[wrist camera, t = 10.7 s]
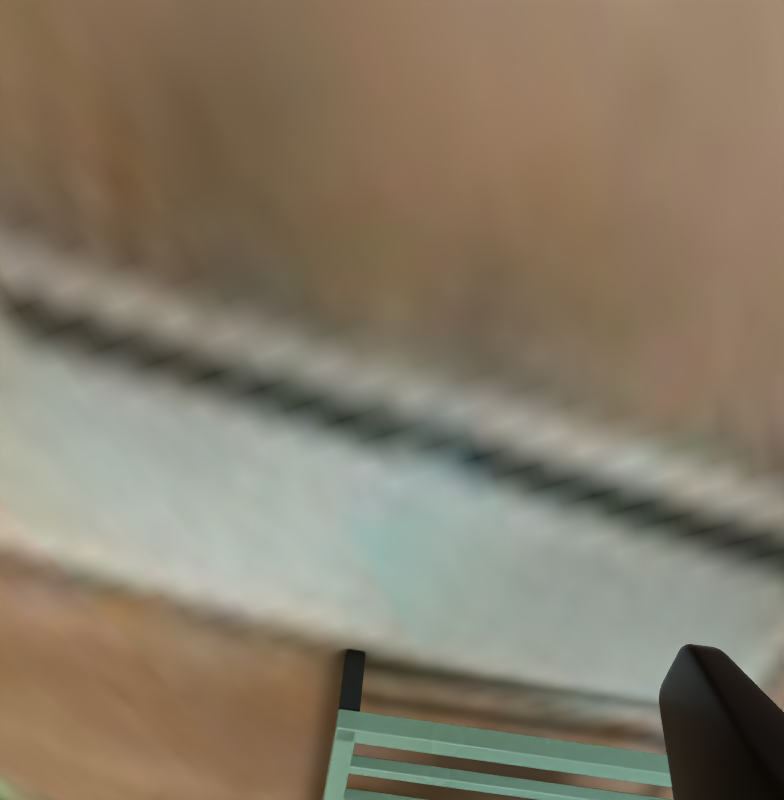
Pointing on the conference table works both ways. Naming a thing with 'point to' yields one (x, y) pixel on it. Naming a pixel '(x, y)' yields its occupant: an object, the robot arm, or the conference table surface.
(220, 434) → the conference table surface
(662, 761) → the rack
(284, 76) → the conference table surface
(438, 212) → the conference table surface
